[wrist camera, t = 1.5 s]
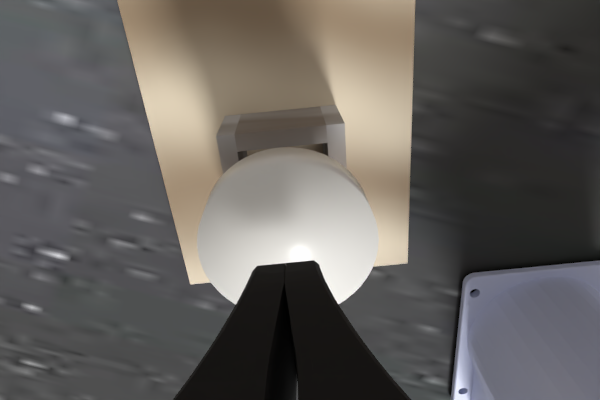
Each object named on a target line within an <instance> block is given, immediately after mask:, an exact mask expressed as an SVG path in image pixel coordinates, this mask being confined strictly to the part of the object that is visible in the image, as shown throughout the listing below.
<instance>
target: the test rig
mask: <svg viewBox="0 0 600 400" xmlns="http://www.w3.org/2000/svg"><path fill="white" fill-rule="evenodd" d="M117 1H118V5H119V9H120V12H121V16H122V20H123V24H124V28H125V32H126V36H127V40H128V44H129V47H130V51H131V55H132V59H133V63H134V67H135V71H136V75H137V79H138V82H139V86H140V90H141V94H142V98H143V102H144V106H145V110H146V114H147V117H148V121H149V125H150V129H151V133H152V137H153V141H154V145H155V149H156V152H157V156H158V160H159V164H160V168H161V172H162V176H163V180H164V183H165V187H166V191H167V195H168V199H169V203H170V207H171V211H172V215H173V218H174V222H175V226H176V230H177V234H178V238H179V242H180V246H181V250H182V253H183V257H184V261H185V265H186V269H187V273H188V277H189V281H190V284H199V283H210V280H209V279H208V277H207V276H206V274H205V272H204V270H203V268H202V266H201V262H200V259H199V256H198V249H197V234H198V228H199V224H200V221H201V218H202V215H203V212H204V209H205V206H206V204H207V201H208V198H209V195H210V193H211V191H212V189H213V187H214V186H215V184H216V183H217V181H218V180H219V178H220V177H221V176H222V175H223V174H224V173H225V172H226V171H227V170H228V169H229V168H230V167H232V166H233V165H234V164H235V163H237V162H238V161H240V160H242V159H243V158H245V157H247V156H249V155H252V154H254V153H256V152H260V151H263V150H267V149H272V148H279V147H296V148H304V149H309V150H313V151H316V152H319V153H322V154H325V155H327V156H329V157H331V158H332V159H334V160H336V161H337V162H339V163H340V164H342V165H343V166H344V167H345V168H347V169H348V170H349V171H350V172H351V173H352V174H353V176H354V177H355V178H356V179H357V180H358V182H359V184H360V185H361V187H362V189H363V190H364V193H365V195H366V198H367V200H368V203H369V205H370V207H371V210H372V212H373V215H374V217H375V220H376V224H377V228H378V237H379V242H378V252H377V256H376V260H375V262H374V265H373V267H374V266H384V265H395V264H405V263H408V229H409V196H410V162H411V128H412V94H413V60H414V26H415V0H117Z"/></svg>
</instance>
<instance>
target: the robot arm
mask: <svg viewBox="0 0 600 400" xmlns="http://www.w3.org/2000/svg"><path fill="white" fill-rule="evenodd" d="M474 289H476V290H475V291H474V292H471V291H472V290H474ZM470 292H471V293H470ZM297 381H298V400H411V399H410V398H409V397H408V396H407V394H406V393H405V392H404V391H403V390H402V389H401V388H400V387H399V385H398V384H397V383H396V382H395V381H394V380H393V379H392V377H391V376H390V375H389V374H388V373H387V371H386V370H385V369H384V368H383V366H382V365H381V364H380V363H379V362H378V360H377V359H376V358H375V356H374V355H373V354H372V352H371V351H370V350H369V349H368V347H367V346H366V345H365V343H364V342H363V341H362V339H361V338H360V336H359V335H358V334H357V332H356V331H355V329H354V328H353V326H352V325H351V323H350V322H349V320H348V319H347V317H346V316H345V314H344V313H343V311H342V310H341V308H340V306H339V305H338V303H337V301H336V300H335V298H334V296H333V294H332V293H331V291H330V289H329V287H328V285H327V283H326V281H325V279H324V277H323V274H322V272H321V269H320V266H319V264H318V263H317V262H315V261H314V260H312V261H301V262H291V263H286V264H285V263H281V264H271V265H260V266H257V267H256V268H255V269H254V270H253V271H252V273H251V276H250V278H249V280H248V282H247V284H246V286H245V288H244V290H243V292H242V294H241V296H240V298H239V300H238V302H237V304H236V305H235V307H234V309H233V311H232V312H231V314H230V316H229V318H228V319H227V321H226V323H225V324H224V326H223V328H222V329H221V331H220V333H219V334H218V336H217V338H216V339H215V341H214V342H213V344H212V345H211V347H210V348H209V350H208V351H207V353H206V354H205V356H204V357H203V359H202V360H201V362H200V363H199V365H198V366H197V367H196V369H195V370H194V372H193V373H192V375H191V376H190V378H189V379H188V380H187V382H186V383H185V384H184V386H183V387H182V388H181V390H180V391H179V392H178V394H177V395H176V396H175V398H174V399H173V400H296V386H297ZM451 400H600V260H599V261H589V262H579V263H568V264H558V265H548V266H538V267H527V268H517V269H507V270H496V271H486V272H476V273H471V274H469V275H467V276H466V277H465V278H464V280H463V285H462V295H461V305H460V314H459V324H458V334H457V343H456V353H455V363H454V372H453V382H452V392H451Z"/></svg>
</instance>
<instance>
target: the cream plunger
mask: <svg viewBox="0 0 600 400" xmlns="http://www.w3.org/2000/svg"><path fill="white" fill-rule="evenodd" d="M378 242H379V237H378V228H377V224H376V220H375V217H374V215H373V212H372V210H371V207H370V205H369V203H368V200H367V198H366V195H365V193H364V190H363V189H362V187H361V185H360V184H359V182H358V180H357V179H356V178H355V177H354V176H353V174H352V173H351V172H350V171H349V170H348V169H347V168H345V167H344V166H343V165H342V164H340V163H339V162H337V161H336V160H334V159H332V158H331V157H329V156H327V155H325V154H322V153H319V152H316V151H313V150H309V149H304V148H296V147H279V148H272V149H267V150H263V151H260V152H256V153H254V154H252V155H249V156H247V157H245V158H243V159H242V160H240V161H238V162H237V163H235V164H234V165H233V166H232V167H230V168H229V169H228V170H227V171H226V172H225V173H224V174H223V175H222V176H221V177H220V178H219V180H218V181H217V183H216V184H215V186H214V187H213V189H212V191H211V193H210V195H209V198H208V201H207V204H206V206H205V209H204V212H203V215H202V218H201V221H200V224H199V228H198V234H197V249H198V256H199V259H200V262H201V266H202V268H203V270H204V272H205V274H206V276H207V277H208V279H209V280H210V282H211V283H212V285H213V286H214V287H215V288H216V289H217V290H218V291H219V292H220V293H221V294H222V295H223V296H224V297H226V298H227V299H228V300H230V301H231V302H233V303H234V304H237V302H238V300H239V298H240V296H241V294H242V292H243V290H244V288H245V286H246V284H247V282H248V280H249V278H250V276H251V273H252V271H253V270H254V269H255V268H256V267H257V266H260V265H271V264H281V263H285V264H286V263H291V262H301V261H312V260H314V261H315V262H317V263H318V264H319V266H320V269H321V272H322V274H323V277H324V279H325V281H326V283H327V285H328V287H329V289H330V291H331V293H332V294H333V296H334V298H335V300H336V301H337V303H338V304H340V303H341V302H343V301H344V300H346V299H347V298H348V297H350V296H351V295H352V294H353V293H354V292H355V291H356V290H357V289H358V288H359V287H360V286H361V285H362V284H363V282H364V281H365V280H366V278H367V277H368V275H369V273H370V272H371V270H372V268H373V265H374V262H375V260H376V256H377V252H378Z"/></svg>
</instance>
